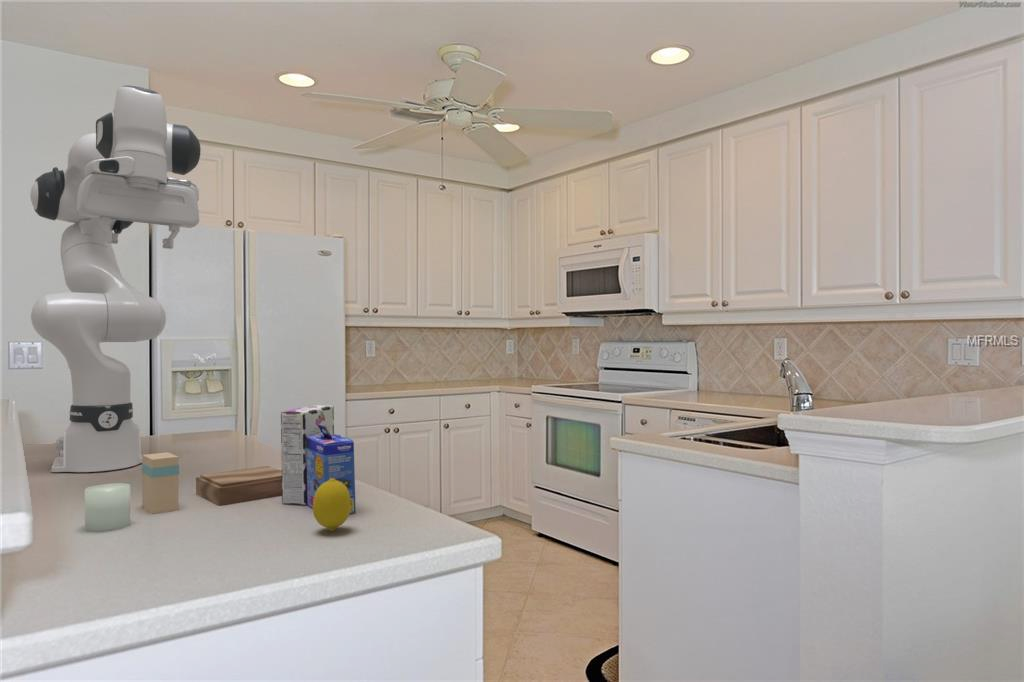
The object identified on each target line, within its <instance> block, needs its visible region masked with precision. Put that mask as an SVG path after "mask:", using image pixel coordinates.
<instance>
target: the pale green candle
mask: <svg viewBox="0 0 1024 682" xmlns="http://www.w3.org/2000/svg"><path fill="white" fill-rule="evenodd" d="M130 525H131V484H130V483H123V482H115V483H114V482H113V483H103V484H95V485H93V486H92V485H91V486H88V487H86V488H85V489H84V530H85V531H86V532H92V533H95V532H96V533H98V532H99V533H100V532H101V533H102V532H111V531H116V530H120V529H124V528H126V527H128V526H130Z"/></svg>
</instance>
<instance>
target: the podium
mask: <svg viewBox="0 0 1024 682" xmlns="http://www.w3.org/2000/svg"><path fill="white" fill-rule="evenodd" d="M195 494H196V495H198V496H200V497H201V498H204V499H206V500H207V501H210V502H211V503H213V504H215V505H217V506H226V505H231V504H236V503H237V504H238V503H242V502H243V503H244V502H249V501H255V500H261V499H267V498H273V497H282V469H277V468H275V467H272V466H269V465H267V466H259V467H257V466H256V467H251V468H243V469H237V470H228V471H221V472H213V473H205V474H204V473H203V474H200V476H198V477H195Z"/></svg>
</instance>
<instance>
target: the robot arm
mask: <svg viewBox="0 0 1024 682" xmlns="http://www.w3.org/2000/svg"><path fill="white" fill-rule="evenodd" d="M115 93H116V94H115V95H116V96H115V102H114V107H113V111H112V112H109V113H107V114H105V115H103V116H101V117H100V118H98V119H97V120H96V121H95V132H92V133H91V132H90V133H87V134H84V135H82V136H81V137H79V138H78V139H77V140H76V141H75V142H74V143H73V144H72V146H71V147H70V149H69V150H68V151H69V152H68V155H67V168H66V169H62V170H59V168H58V167H57V166H56V167H55V166H54V167H53V168H52V170H51V171H48V172H45V173H42V174H41V175H39V176H38V177H37V178H36V179H35V180H34V183H33V184H32V186H31V189H30V201H31V205H32V207H33V210H34V212H35V213H36V214H37V216H39V217H41V218H43V219H48V220H50V221H51V220H52V221H56V220H58V221H62V222H67V223H72V224H71V225H69V226H67V228H65V229H64V230H63V233H62V234H61V240H60V260H61V265H62V270H63V276H64V281H65V284H66V287H67V288H68V290H69V291H65V292H55V293H48V294H47V293H46V294H43V295H42V296H41V297H39V298H38V299H37V300H36V301H35V303H34V304H33V307H32V309H31V314H30V320H31V324H32V326H33V329H34V331H36V333H37V334H38V335H39V336H40V337H41V338H43V339H44V340H46V341H47V342H49V343H50V344H52V345H53V346H54V347H55V348H56V349H57V350H58V351H59V352H60V353H61V354H62V356H63V357H64V358H65V361H66V363H67V365H68V367H69V371H70V377H71V379H70V380H71V387H72V388H71V390H72V404H71V405H70V406H69V407H70V409H69V413H68V414H69V421H70V424H69V426H68V428H67V429H66V430H65V431H64V432H63V436H59V438H58V439H56V441H55V449H56V451H59V452H58V457H55V458H54V461H53V463H52V464H51V465H52V466H51V469H50V472H51V473H67V472H68V473H90V472H93V473H95V472H105V471H114V470H120V469H126V468H130V467H134V466H138V465H140V464H142V444H141V442H142V441H141V440H142V439H141V428H140V426H138V424H137V423H135V422H134V421H133V420H132V418H133V417H134V413H133V412H134V407H133V402H132V401H131V371H130V369H129V367H128V366H127V365H126V364H125V363H123V362H122V361H119V360H117V359H116V358H113V357H112V356H108V355H106V354H104V352H103V351H102V350H101V347H100V346H101V345H100V343H137V342H143V341H148V340H154V339H156V338H157V337H159V336H160V334H162V332H163V331H164V329H165V326H166V323H167V315H166V311H165V309H164V307H163V305H162V304H161V303H160V302H159V300H157V298H154V297H151V296H148V295H146V294H144V293H143V292H141V291H139V290H138V289H136V288H135V287H133V286H132V285H131V284H130V283H129V282H128V281H126V279H125V278H124V277H123V275H122V273H121V271H120V268H119V265H118V262H117V261H118V260H117V259H116V255H115V252H114V251H115V250H114V248H113V246H112V245H117V244H118V243H119V239H118V238H119V235H120V234H121V233H122V232H123V230H126V229H128V228H129V227H131V226H132V224H134V223H141V224H151V225H159V226H160V225H161V226H166V227H167V226H168V231H169V232H170V235H169V236H168V238H163V239H162V249H165V250H167V249H169V250H172V249H174V239H176V237H177V236H178V234H179V232H180V228H186V229H192V228H194V227H197V225H198V224H200V212H199V205H198V201H199V199H200V197H199V196H200V190H199V188H198V186H197V185H196V184H195V183H193V182H192V181H191V180H188V179H179V178H175V177H169V176H168V173H172V174H177V175H180V176H185V175H187V174H188V173H190V172H192V171H193V170H194V169H196V167H197V165H198V164H199V162H200V158H201V150H202V149H201V143H200V140H199V139H198V137H197V135H196V134H195V133H194V132H193V131H192V130H191V129H190V128H189V127H188V126H187V125H182V124H176V123H175V124H174V123H173V124H172V123H167V122H168V121H167V115H166V112H167V111H166V106H165V101H164V97H163V95H161V94H160V93H159V92H157V91H155V90H153V89H148V88H144V87H140V86H136V85H121V86H119V87H117V90H116V92H115Z"/></svg>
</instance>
